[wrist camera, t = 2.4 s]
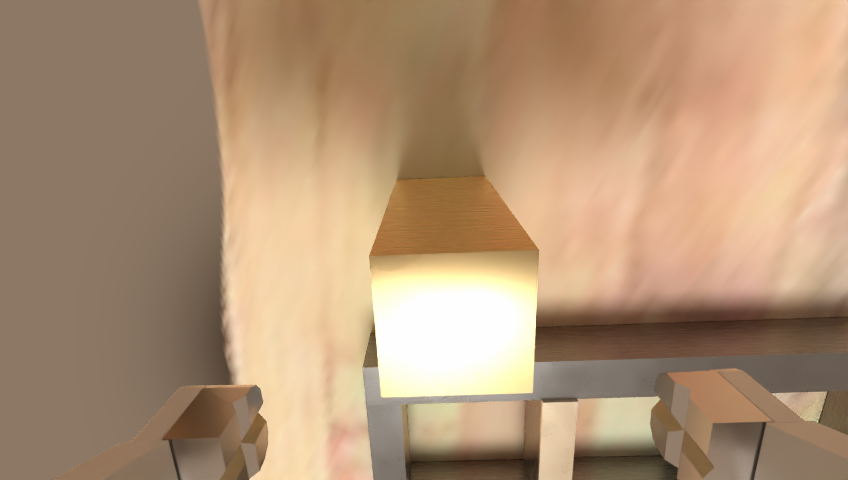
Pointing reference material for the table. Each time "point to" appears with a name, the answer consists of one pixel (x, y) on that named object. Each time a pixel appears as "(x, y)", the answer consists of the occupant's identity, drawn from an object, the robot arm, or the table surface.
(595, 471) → the grey compartment tray
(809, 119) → the table surface
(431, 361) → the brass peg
